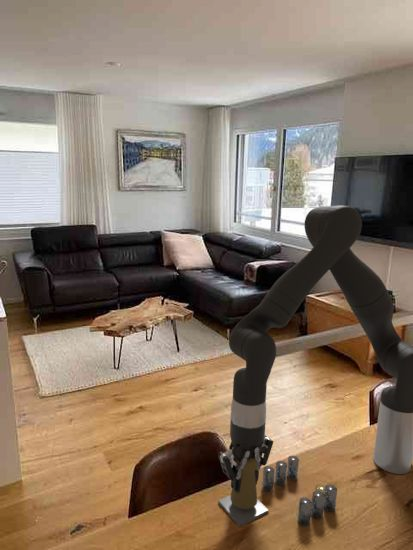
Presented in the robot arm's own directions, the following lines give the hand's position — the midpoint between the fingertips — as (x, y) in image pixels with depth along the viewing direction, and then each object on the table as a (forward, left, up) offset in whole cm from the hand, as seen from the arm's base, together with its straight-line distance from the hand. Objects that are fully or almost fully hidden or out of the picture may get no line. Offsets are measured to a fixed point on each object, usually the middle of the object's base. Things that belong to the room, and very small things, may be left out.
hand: (244, 486), depth 92 cm
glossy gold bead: (-19, +5, -6) cm, 21 cm away
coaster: (0, 0, -5) cm, 5 cm away
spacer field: (-13, +4, -5) cm, 15 cm away
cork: (0, 0, -4) cm, 4 cm away
